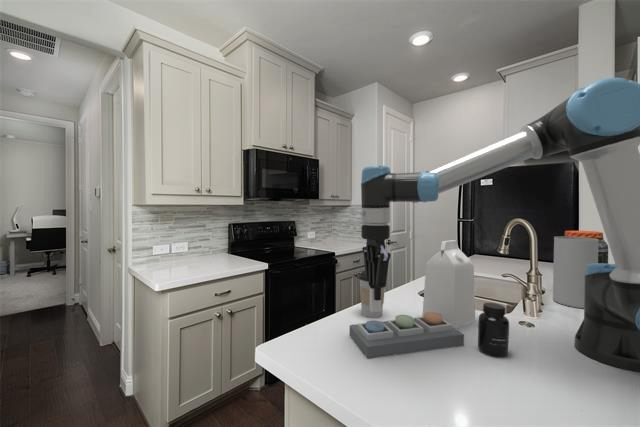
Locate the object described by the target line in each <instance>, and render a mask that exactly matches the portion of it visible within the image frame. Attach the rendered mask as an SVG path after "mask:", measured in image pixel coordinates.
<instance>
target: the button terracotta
mask: <svg viewBox="0 0 640 427" xmlns="http://www.w3.org/2000/svg"><path fill="white" fill-rule="evenodd" d="M424 321H425V322H427V323H430V324H441V323H442V315H441V314H438V313H435V312H426V313H424Z"/></svg>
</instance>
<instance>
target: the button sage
mask: <svg viewBox="0 0 640 427" xmlns="http://www.w3.org/2000/svg"><path fill="white" fill-rule="evenodd" d="M414 318H415V317H413V316H412V315H408V314H398V315H395V319H394V320H395V323H396V325H398V326H400V327H404V328H410V327H413V326H414Z"/></svg>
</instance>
